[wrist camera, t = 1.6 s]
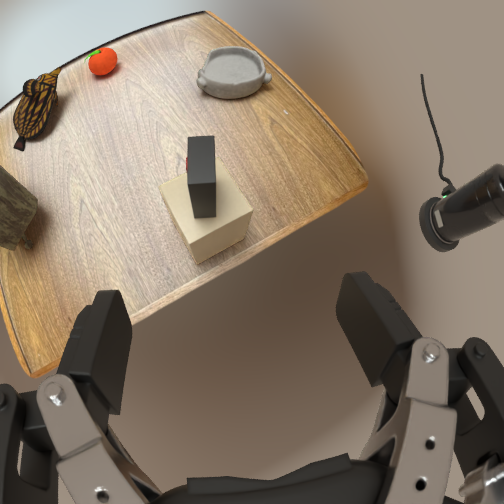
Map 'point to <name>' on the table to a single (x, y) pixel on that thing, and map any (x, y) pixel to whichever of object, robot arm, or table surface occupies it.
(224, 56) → the dish
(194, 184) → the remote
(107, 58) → the clementine
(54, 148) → the table surface
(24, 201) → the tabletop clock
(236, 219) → the stand
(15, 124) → the decorative fish sculpture
